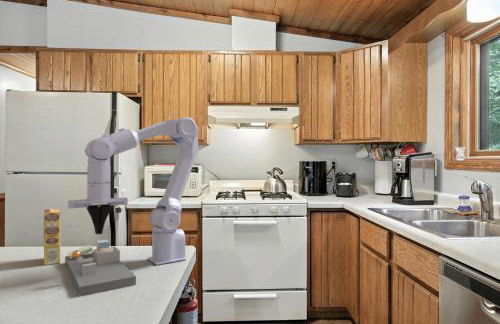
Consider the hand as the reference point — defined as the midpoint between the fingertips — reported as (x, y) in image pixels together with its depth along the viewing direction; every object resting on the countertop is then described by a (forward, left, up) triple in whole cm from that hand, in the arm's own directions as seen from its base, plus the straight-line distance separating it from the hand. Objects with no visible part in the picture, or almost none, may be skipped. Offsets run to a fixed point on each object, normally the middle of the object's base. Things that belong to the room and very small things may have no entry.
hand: (98, 233), depth 86 cm
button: (-3, -3, -8) cm, 9 cm away
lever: (+3, +5, -7) cm, 10 cm away
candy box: (+9, -20, -11) cm, 24 cm away
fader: (-3, -11, -8) cm, 14 cm away
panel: (0, 0, -10) cm, 10 cm away
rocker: (+3, -11, -7) cm, 14 cm away
